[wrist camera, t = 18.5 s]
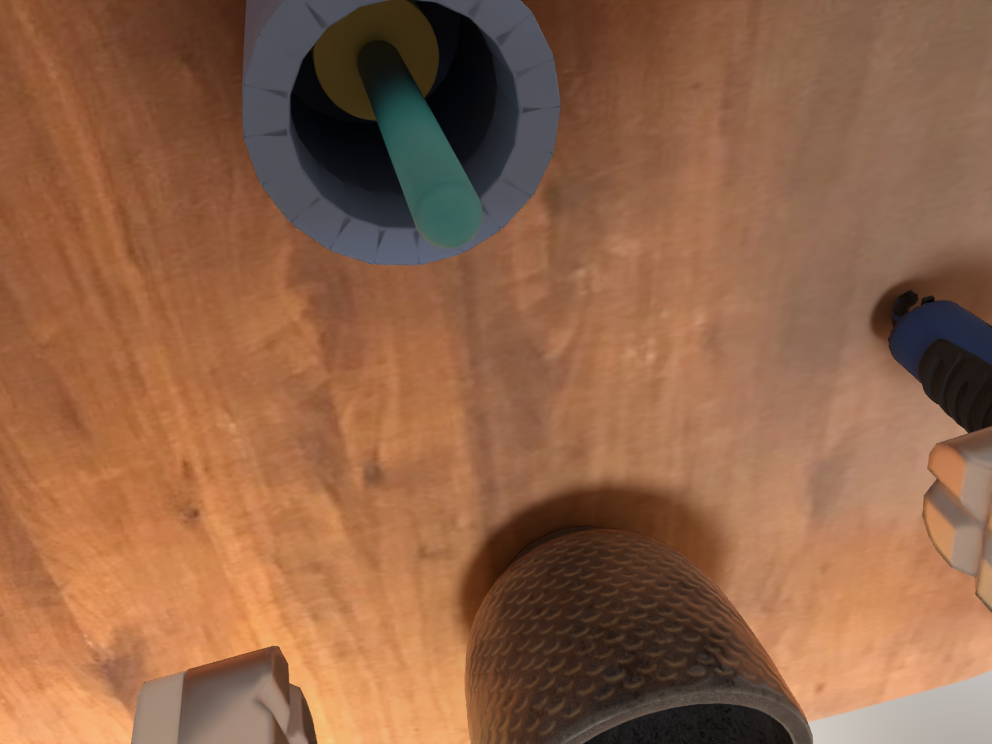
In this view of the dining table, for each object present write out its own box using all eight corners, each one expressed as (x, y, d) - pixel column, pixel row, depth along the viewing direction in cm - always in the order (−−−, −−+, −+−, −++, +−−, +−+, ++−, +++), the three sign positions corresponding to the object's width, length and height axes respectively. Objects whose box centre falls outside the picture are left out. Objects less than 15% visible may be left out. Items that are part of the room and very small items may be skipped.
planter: (395, 540, 53) (440, 783, 40) (664, 430, 53) (796, 638, 40) (486, 700, 63) (546, 938, 50) (713, 607, 63) (832, 821, 50)
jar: (213, -74, 35) (191, -7, 23) (443, -127, 35) (534, -89, 24) (287, 152, 40) (300, 298, 28) (487, 101, 41) (578, 223, 29)
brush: (291, -16, 35) (323, 157, 19) (403, -45, 36) (535, 101, 19) (326, 97, 38) (381, 340, 21) (430, 70, 38) (567, 287, 22)
